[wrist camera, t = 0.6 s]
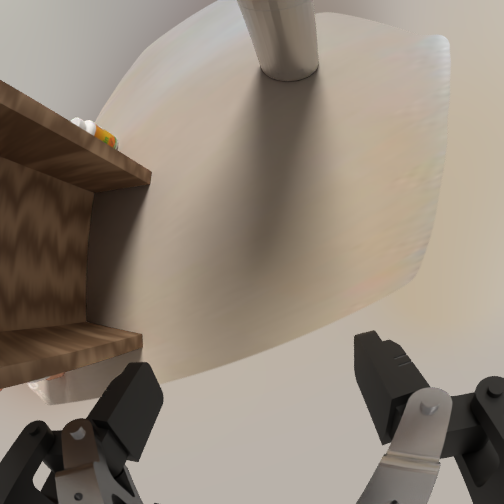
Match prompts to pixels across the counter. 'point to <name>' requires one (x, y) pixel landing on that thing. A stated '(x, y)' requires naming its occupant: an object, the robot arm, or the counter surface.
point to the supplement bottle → (97, 132)
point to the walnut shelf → (51, 240)
